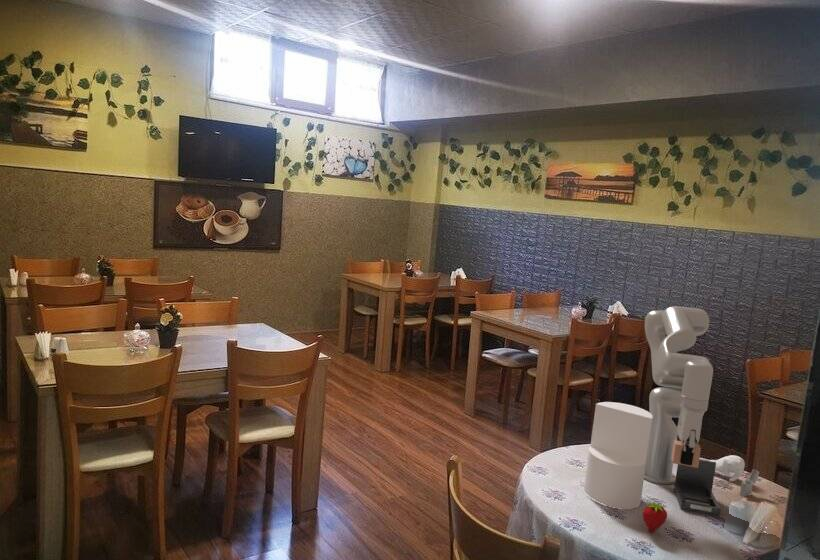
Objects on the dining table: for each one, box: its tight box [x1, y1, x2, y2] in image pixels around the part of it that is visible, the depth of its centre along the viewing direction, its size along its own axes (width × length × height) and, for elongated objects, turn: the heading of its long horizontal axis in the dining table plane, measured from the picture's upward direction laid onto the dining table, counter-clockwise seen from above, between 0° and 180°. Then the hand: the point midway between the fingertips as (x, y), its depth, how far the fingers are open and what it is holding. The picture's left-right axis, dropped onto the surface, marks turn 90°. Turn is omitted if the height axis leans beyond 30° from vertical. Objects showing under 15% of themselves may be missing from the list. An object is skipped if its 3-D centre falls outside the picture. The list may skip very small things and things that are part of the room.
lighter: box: [739, 469, 760, 497], centre depth 204 cm, size 7×2×8 cm, turn 122°
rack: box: [673, 458, 722, 518], centre depth 193 cm, size 11×14×12 cm
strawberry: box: [641, 499, 668, 533], centre depth 172 cm, size 6×8×10 cm
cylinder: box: [583, 401, 653, 510], centre depth 192 cm, size 17×17×28 cm
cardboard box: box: [671, 439, 702, 468], centre depth 183 cm, size 7×4×6 cm, turn 74°
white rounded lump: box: [708, 454, 746, 482], centre depth 216 cm, size 6×8×12 cm
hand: (684, 460), depth 183 cm, fingers closed on cardboard box, 3 cm apart
